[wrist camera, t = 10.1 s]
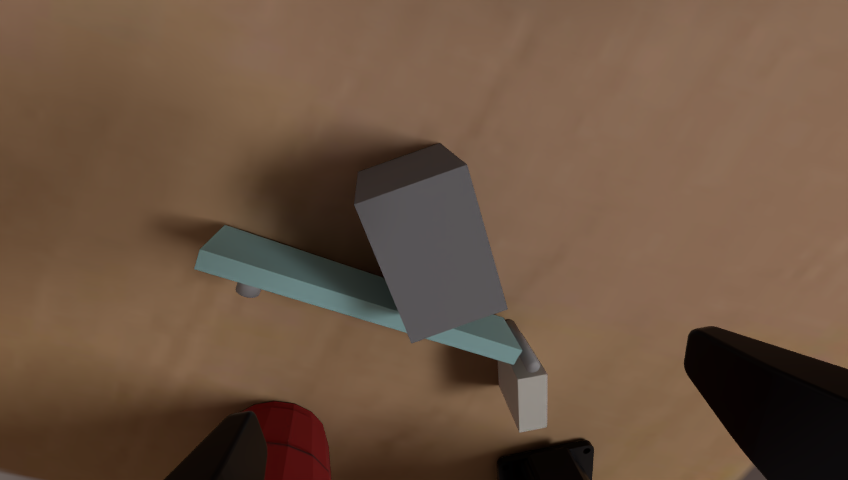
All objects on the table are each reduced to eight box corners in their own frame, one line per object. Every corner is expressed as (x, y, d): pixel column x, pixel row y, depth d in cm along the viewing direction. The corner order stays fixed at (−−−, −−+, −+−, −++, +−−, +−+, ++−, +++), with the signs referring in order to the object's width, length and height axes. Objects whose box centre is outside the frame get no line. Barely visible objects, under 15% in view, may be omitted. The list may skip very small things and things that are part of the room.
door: (503, 317, 22) (522, 350, 19) (488, 345, 22) (504, 380, 20) (225, 224, 18) (199, 249, 15) (214, 260, 19) (188, 290, 16)
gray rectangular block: (473, 254, 21) (507, 309, 16) (400, 279, 21) (411, 343, 16) (439, 142, 18) (467, 164, 13) (357, 171, 18) (354, 204, 13)
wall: (522, 381, 24) (547, 428, 21) (499, 385, 24) (520, 434, 21) (510, -134, 15) (551, -197, 12) (471, -131, 15) (501, -194, 11)
